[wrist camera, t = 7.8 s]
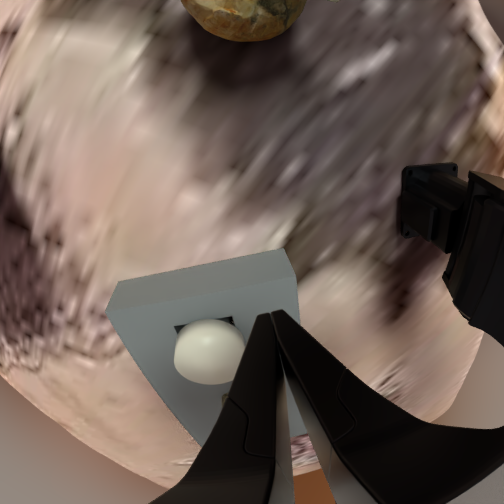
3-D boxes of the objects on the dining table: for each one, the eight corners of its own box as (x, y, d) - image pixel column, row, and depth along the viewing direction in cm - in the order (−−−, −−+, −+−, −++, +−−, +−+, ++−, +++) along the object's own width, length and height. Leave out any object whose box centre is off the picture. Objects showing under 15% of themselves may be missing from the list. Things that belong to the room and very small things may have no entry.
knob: (233, 283, 23) (239, 333, 18) (245, 328, 25) (252, 378, 20) (171, 295, 23) (162, 345, 18) (190, 338, 25) (187, 388, 20)
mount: (283, 248, 22) (295, 275, 19) (300, 410, 35) (306, 433, 32) (118, 281, 22) (104, 311, 19) (203, 426, 35) (204, 449, 31)
